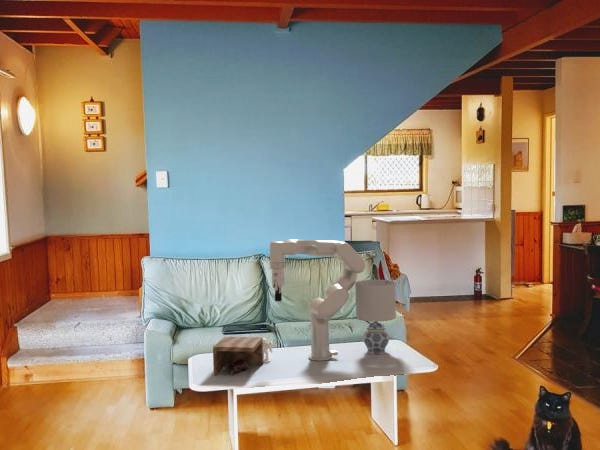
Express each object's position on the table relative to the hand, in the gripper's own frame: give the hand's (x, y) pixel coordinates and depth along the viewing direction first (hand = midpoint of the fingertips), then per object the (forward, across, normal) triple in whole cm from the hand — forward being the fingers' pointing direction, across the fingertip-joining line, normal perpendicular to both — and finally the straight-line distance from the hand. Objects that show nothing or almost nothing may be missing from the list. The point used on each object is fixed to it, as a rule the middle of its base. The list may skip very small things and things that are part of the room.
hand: (278, 300), depth 299 cm
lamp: (+32, +23, -49) cm, 63 cm away
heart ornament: (+33, -16, +18) cm, 41 cm away
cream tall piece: (+32, +5, +9) cm, 34 cm away
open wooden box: (+32, -14, +18) cm, 39 cm away
